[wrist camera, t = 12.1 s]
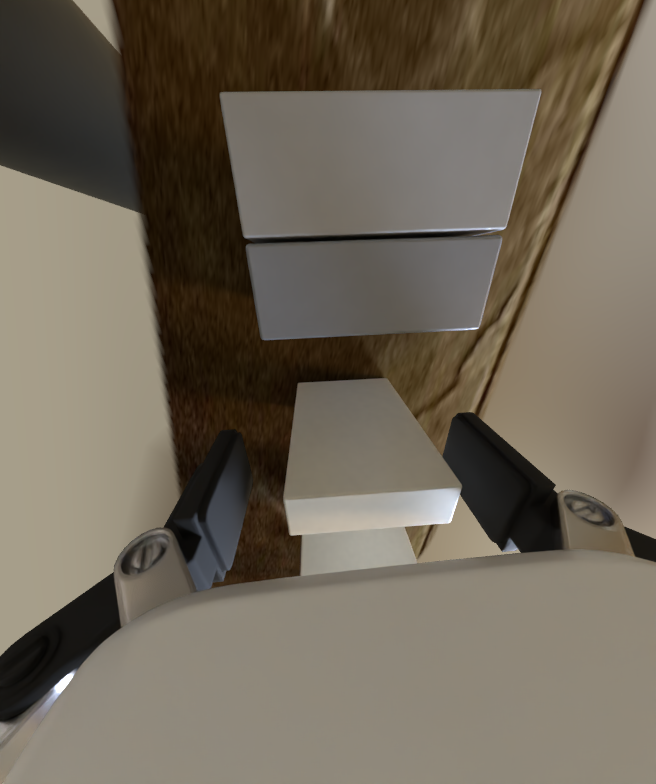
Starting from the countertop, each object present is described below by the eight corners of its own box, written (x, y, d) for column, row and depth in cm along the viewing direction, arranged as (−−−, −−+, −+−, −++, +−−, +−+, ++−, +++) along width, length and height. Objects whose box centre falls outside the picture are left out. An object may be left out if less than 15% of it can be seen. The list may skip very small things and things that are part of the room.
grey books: (287, 304, 13) (260, 341, 6) (277, 204, 11) (217, 89, 4) (391, 299, 14) (480, 330, 6) (400, 201, 11) (543, 87, 4)
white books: (303, 503, 21) (297, 673, 12) (298, 461, 19) (285, 632, 10) (380, 497, 21) (430, 659, 12) (384, 455, 19) (449, 616, 10)
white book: (300, 408, 16) (289, 536, 8) (297, 382, 16) (282, 499, 8) (384, 403, 17) (451, 523, 9) (386, 377, 16) (463, 486, 8)
